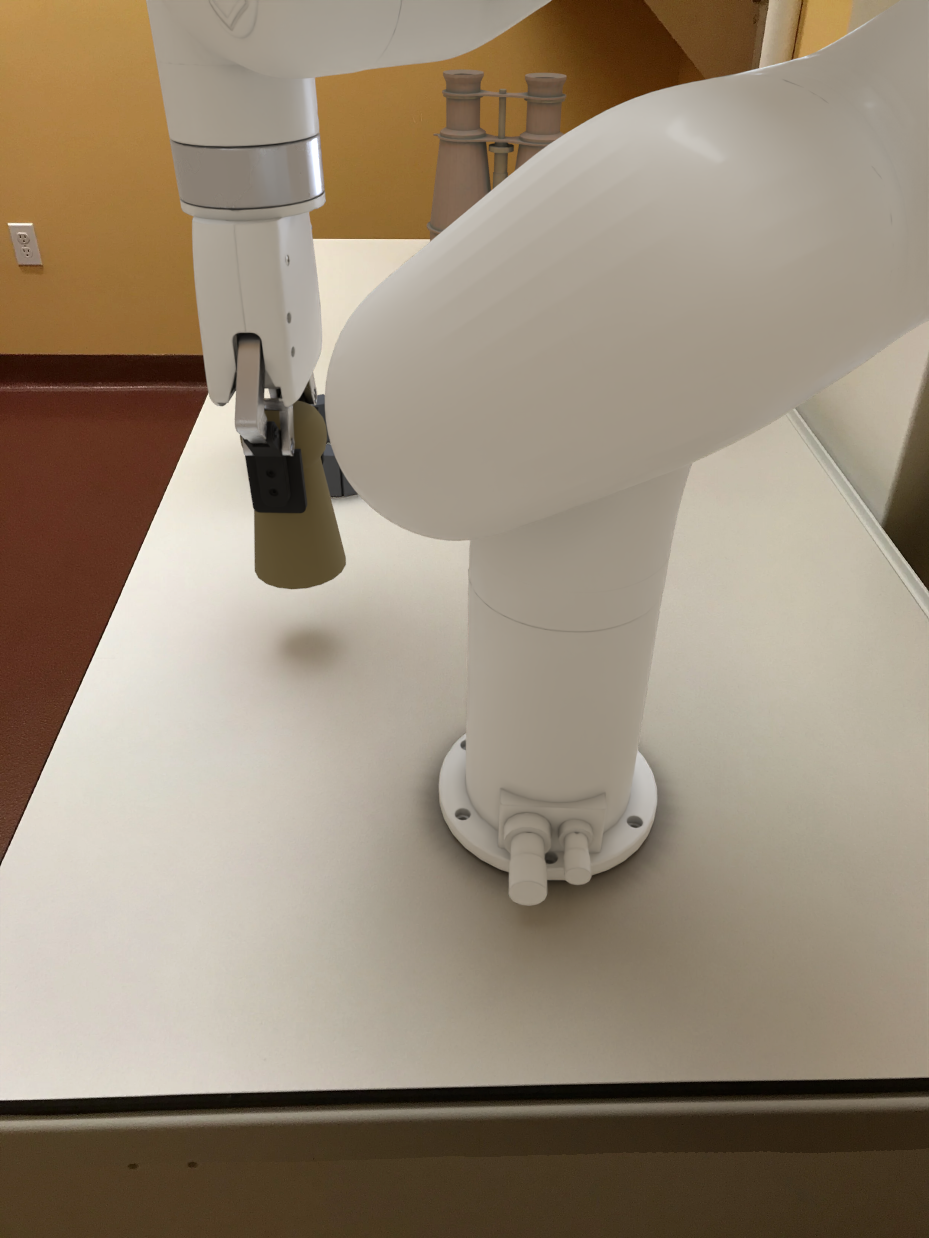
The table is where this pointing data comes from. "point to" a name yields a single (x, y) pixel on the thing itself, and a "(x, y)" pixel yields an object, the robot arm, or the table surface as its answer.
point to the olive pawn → (301, 518)
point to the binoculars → (487, 140)
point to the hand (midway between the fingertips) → (290, 484)
